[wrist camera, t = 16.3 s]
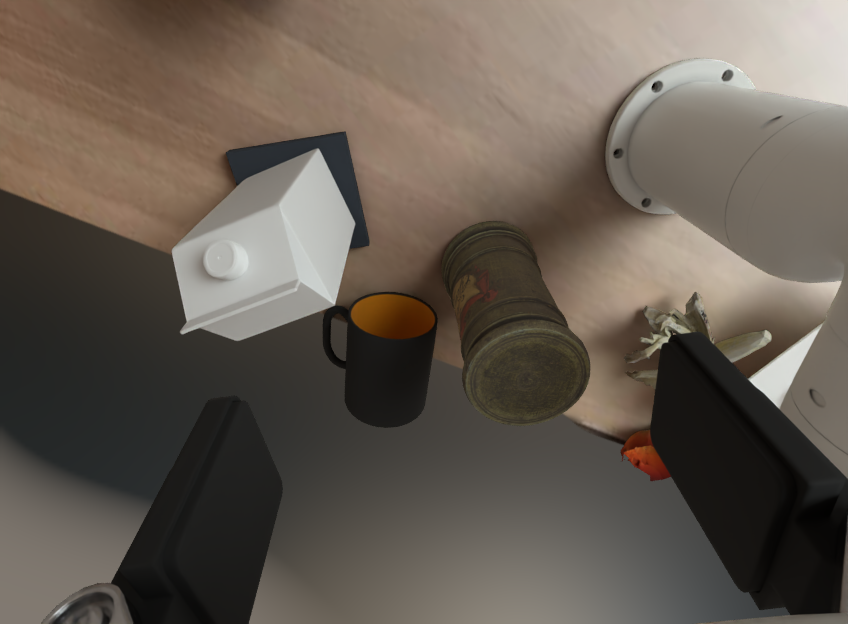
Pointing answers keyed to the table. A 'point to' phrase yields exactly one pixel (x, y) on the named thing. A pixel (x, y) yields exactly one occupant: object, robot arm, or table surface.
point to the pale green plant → (686, 324)
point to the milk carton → (266, 251)
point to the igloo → (783, 369)
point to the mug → (385, 356)
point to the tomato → (645, 455)
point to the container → (511, 328)
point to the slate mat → (273, 154)
